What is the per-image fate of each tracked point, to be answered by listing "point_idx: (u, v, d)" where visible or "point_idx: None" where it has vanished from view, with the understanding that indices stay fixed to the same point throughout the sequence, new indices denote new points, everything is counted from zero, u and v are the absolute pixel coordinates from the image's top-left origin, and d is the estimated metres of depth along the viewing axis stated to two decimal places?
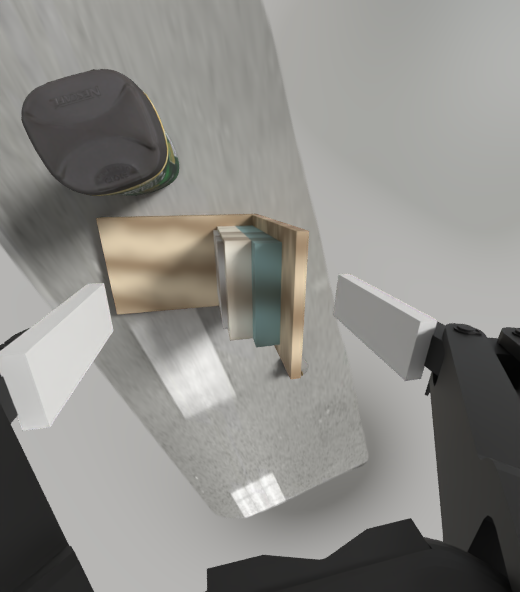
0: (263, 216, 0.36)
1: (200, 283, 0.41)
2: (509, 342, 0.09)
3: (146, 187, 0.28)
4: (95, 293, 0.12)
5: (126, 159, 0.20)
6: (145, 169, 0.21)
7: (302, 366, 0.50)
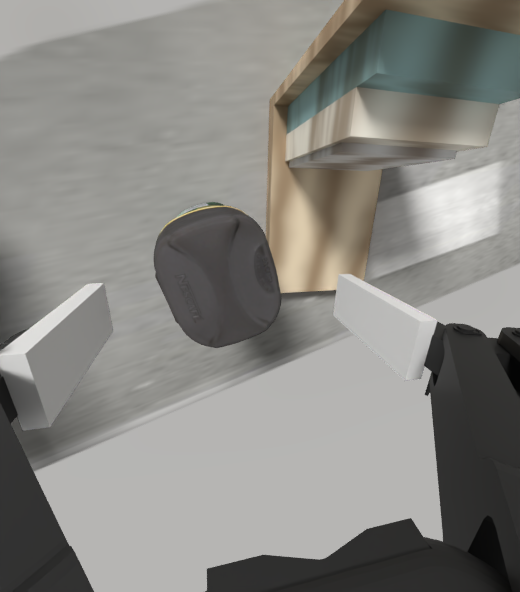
0: (285, 80, 0.24)
1: (350, 193, 0.33)
2: (509, 342, 0.09)
3: None
4: (95, 293, 0.12)
5: (249, 256, 0.16)
6: (258, 235, 0.17)
7: None
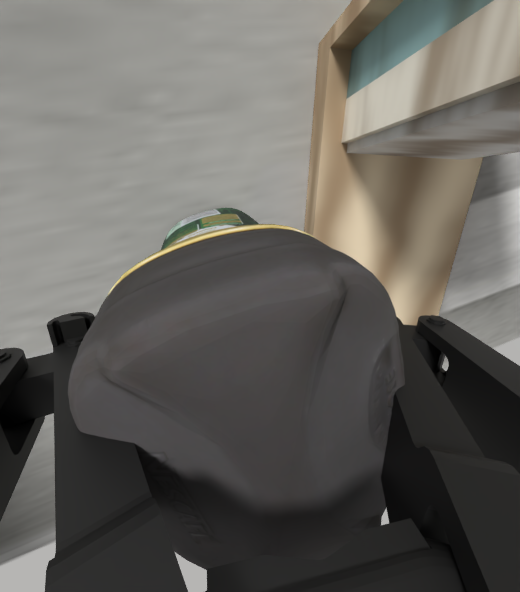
0: None
1: (433, 193, 0.22)
2: (426, 330, 0.10)
3: None
4: None
5: (361, 383, 0.05)
6: (386, 318, 0.06)
7: None
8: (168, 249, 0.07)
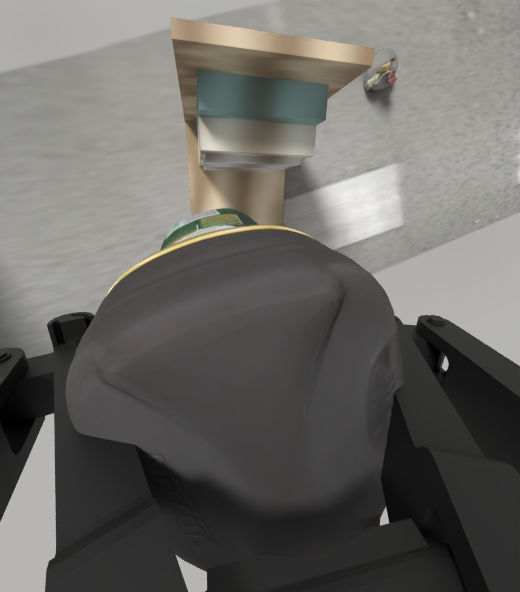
0: None
1: (259, 190, 0.40)
2: (426, 330, 0.10)
3: None
4: None
5: (359, 384, 0.05)
6: (385, 319, 0.06)
7: (385, 58, 0.37)
8: (166, 250, 0.07)
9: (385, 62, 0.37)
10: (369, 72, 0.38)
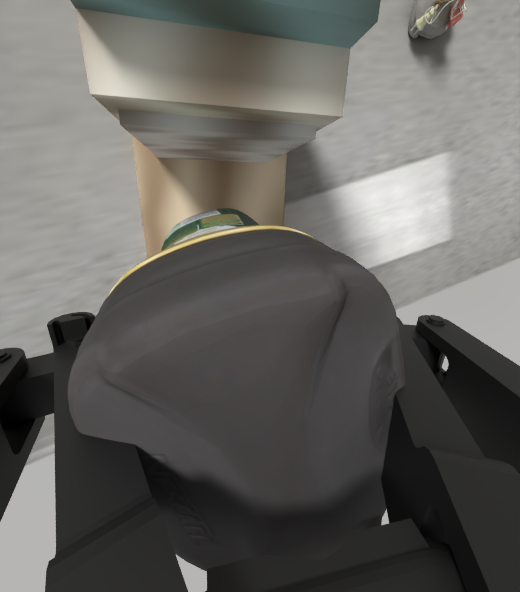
0: None
1: (247, 190, 0.26)
2: (426, 330, 0.10)
3: None
4: None
5: (361, 385, 0.05)
6: (387, 320, 0.06)
7: None
8: (168, 250, 0.07)
9: None
10: (420, 5, 0.24)
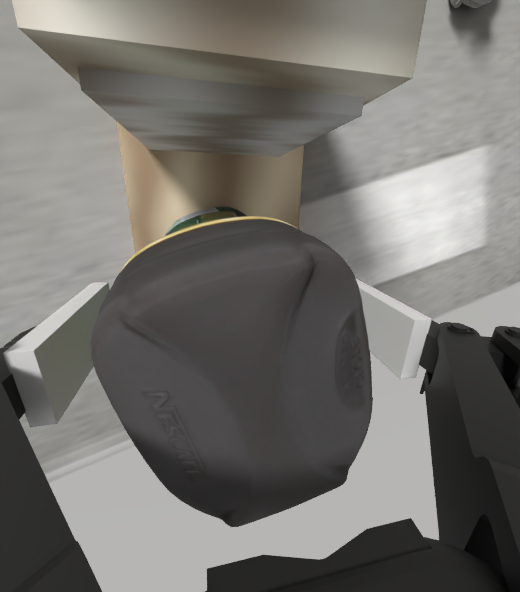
0: None
1: (256, 189, 0.22)
2: (502, 341, 0.09)
3: None
4: (99, 292, 0.12)
5: (327, 343, 0.07)
6: (350, 292, 0.07)
7: None
8: (173, 233, 0.08)
9: None
10: None
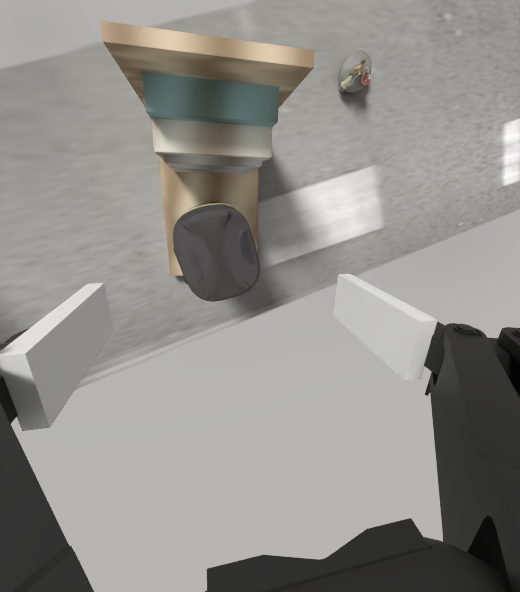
0: None
1: (232, 192, 0.40)
2: (509, 342, 0.09)
3: None
4: (95, 293, 0.12)
5: (237, 237, 0.25)
6: (244, 224, 0.25)
7: (357, 60, 0.37)
8: (193, 208, 0.26)
9: (358, 64, 0.37)
10: (342, 74, 0.37)
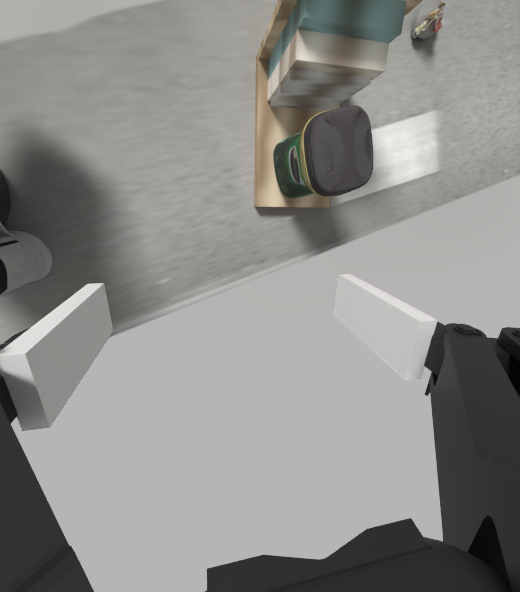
0: None
1: None
2: (509, 342, 0.09)
3: None
4: (95, 293, 0.12)
5: (363, 133, 0.29)
6: (368, 122, 0.30)
7: (432, 7, 0.41)
8: (321, 112, 0.31)
9: (433, 10, 0.42)
10: (417, 20, 0.42)
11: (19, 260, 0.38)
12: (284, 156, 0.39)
